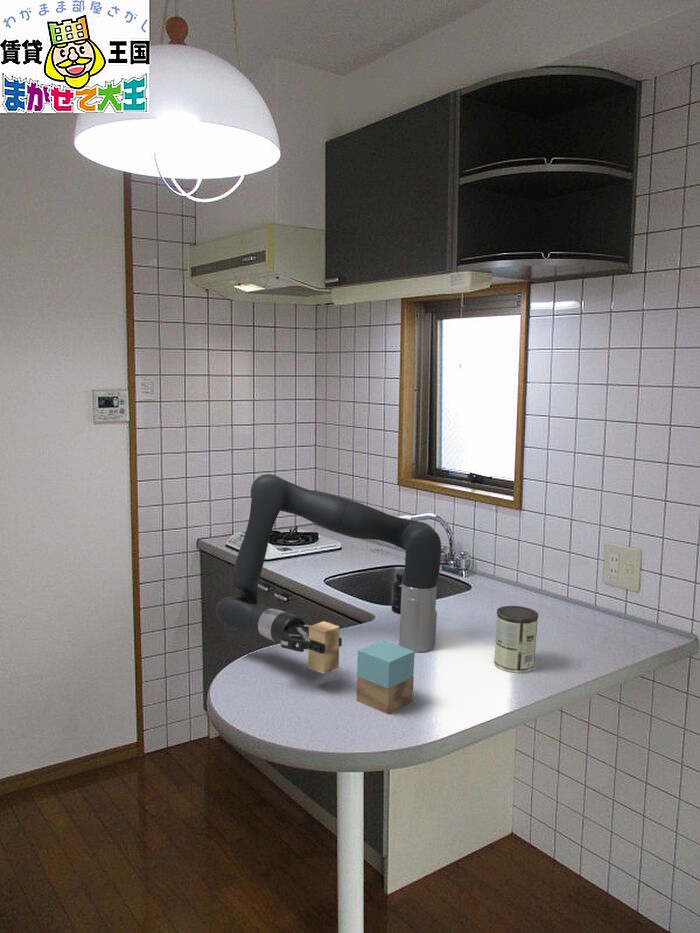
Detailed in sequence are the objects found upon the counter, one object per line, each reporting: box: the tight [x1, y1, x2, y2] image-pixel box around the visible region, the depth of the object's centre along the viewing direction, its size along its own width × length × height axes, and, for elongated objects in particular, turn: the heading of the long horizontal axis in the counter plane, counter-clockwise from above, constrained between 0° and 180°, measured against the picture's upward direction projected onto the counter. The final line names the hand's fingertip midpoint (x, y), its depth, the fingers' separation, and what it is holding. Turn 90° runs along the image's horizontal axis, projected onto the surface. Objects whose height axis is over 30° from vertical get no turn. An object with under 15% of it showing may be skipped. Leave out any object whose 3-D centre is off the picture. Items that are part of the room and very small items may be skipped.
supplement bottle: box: [391, 570, 404, 615], centre depth 236 cm, size 7×7×12 cm
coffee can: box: [493, 605, 539, 674], centre depth 198 cm, size 10×10×14 cm
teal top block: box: [356, 640, 416, 688], centre depth 174 cm, size 9×9×6 cm
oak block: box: [307, 620, 341, 675], centre depth 180 cm, size 5×5×10 cm
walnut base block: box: [355, 675, 415, 715], centre depth 175 cm, size 9×9×6 cm
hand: (332, 645), depth 178 cm, fingers closed on oak block, 5 cm apart
